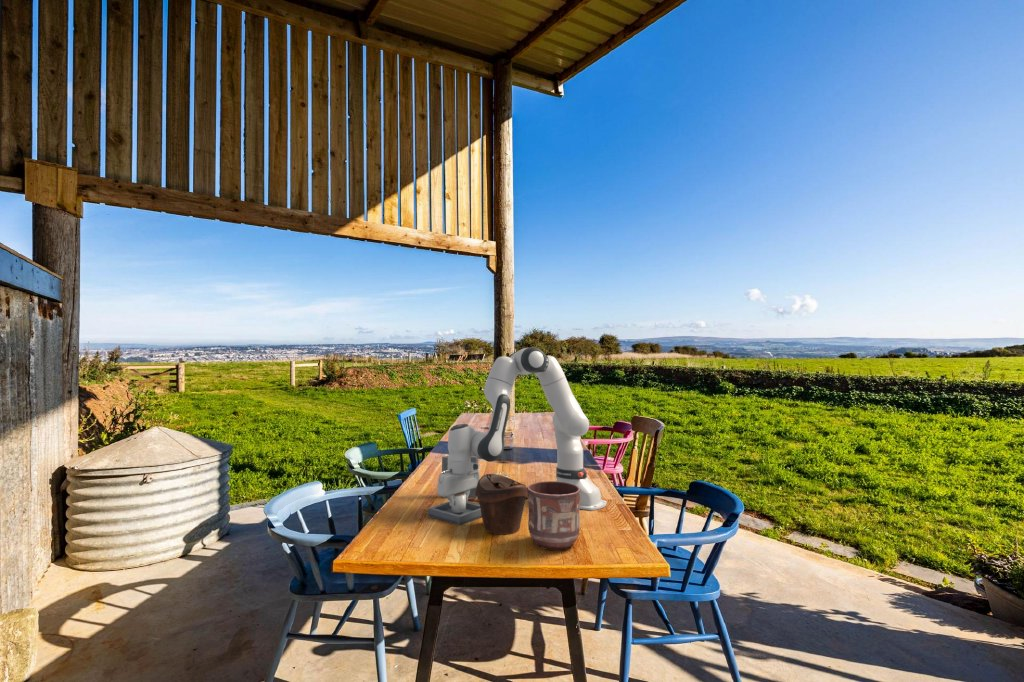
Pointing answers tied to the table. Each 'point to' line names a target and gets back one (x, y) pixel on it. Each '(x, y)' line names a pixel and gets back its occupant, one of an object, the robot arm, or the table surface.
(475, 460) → the hip flask
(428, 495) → the table surface
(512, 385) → the robot arm
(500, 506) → the brown lidded tumbler
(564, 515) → the pottery
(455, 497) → the cup
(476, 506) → the tray
